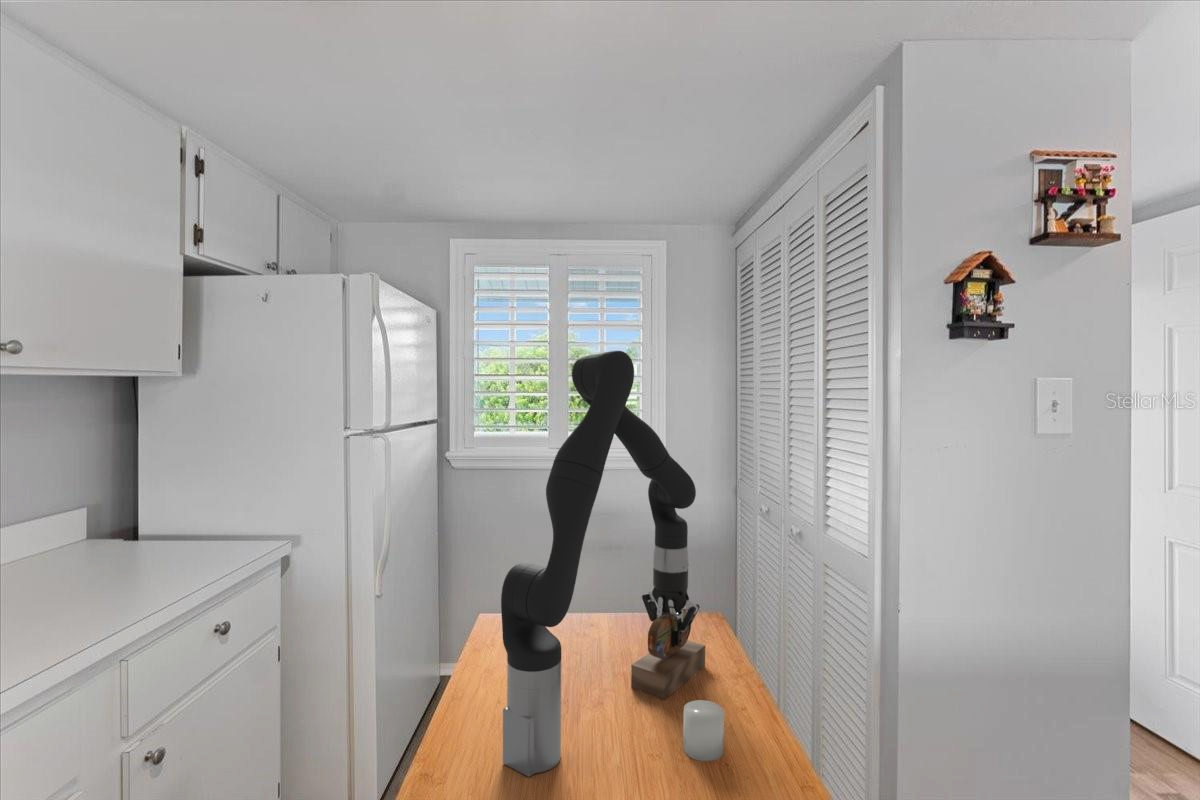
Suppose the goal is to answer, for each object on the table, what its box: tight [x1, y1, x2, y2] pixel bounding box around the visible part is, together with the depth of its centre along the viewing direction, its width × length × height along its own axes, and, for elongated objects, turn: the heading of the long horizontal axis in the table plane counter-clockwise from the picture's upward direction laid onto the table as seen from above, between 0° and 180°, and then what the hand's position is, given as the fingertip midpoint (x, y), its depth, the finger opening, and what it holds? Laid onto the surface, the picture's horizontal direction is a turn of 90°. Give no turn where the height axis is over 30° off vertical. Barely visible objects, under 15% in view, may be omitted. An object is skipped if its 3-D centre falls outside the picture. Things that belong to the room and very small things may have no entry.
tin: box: [647, 608, 692, 660], centre depth 136 cm, size 15×3×8 cm, turn 143°
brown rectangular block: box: [630, 640, 706, 701], centre depth 137 cm, size 18×8×5 cm, turn 143°
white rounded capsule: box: [682, 699, 725, 762], centre depth 111 cm, size 7×7×7 cm
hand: (669, 643), depth 136 cm, fingers closed on tin, 2 cm apart
